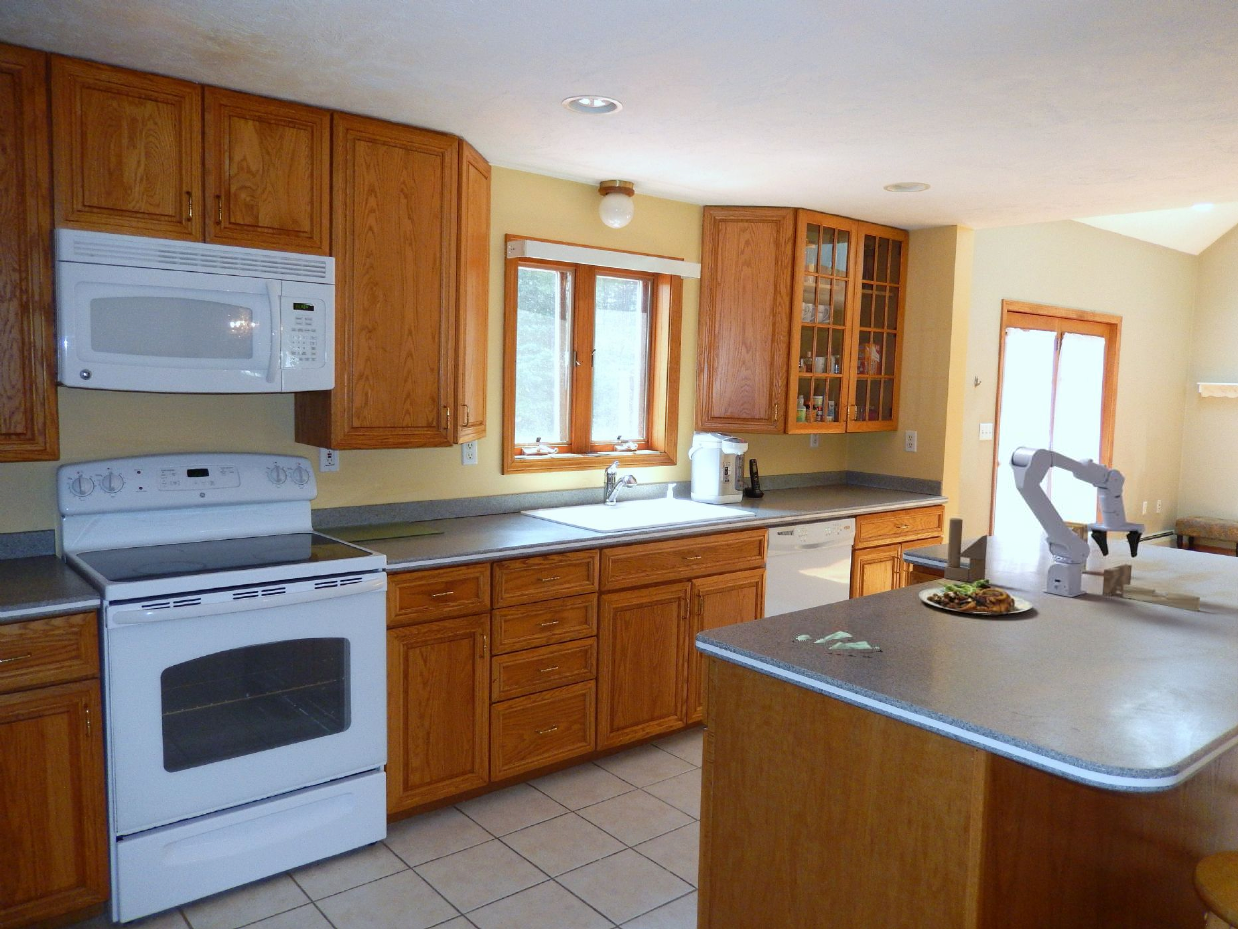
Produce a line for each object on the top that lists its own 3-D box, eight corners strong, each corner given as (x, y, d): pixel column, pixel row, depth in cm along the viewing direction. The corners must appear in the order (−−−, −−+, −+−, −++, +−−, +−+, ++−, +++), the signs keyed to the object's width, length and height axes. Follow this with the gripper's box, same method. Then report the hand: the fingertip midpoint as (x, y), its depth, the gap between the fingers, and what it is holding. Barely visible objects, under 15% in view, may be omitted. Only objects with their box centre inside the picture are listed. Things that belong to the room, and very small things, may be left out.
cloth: (776, 639, 199) (776, 629, 199) (858, 632, 207) (858, 622, 207) (828, 667, 180) (828, 655, 180) (916, 657, 188) (916, 646, 188)
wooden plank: (1108, 595, 246) (1110, 570, 245) (1102, 594, 247) (1104, 569, 246) (1130, 589, 254) (1131, 565, 254) (1124, 588, 256) (1125, 564, 255)
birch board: (1196, 611, 230) (1197, 598, 230) (1122, 597, 244) (1123, 584, 244) (1198, 610, 231) (1199, 597, 231) (1125, 596, 245) (1126, 584, 245)
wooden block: (980, 584, 257) (983, 523, 255) (943, 578, 264) (947, 518, 263) (985, 582, 260) (988, 521, 258) (949, 576, 267) (952, 517, 265)
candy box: (1086, 571, 278) (1089, 523, 276) (1081, 573, 275) (1084, 524, 274) (1056, 567, 284) (1059, 520, 283) (1051, 569, 281) (1054, 521, 280)
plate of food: (957, 589, 251) (958, 568, 251) (1054, 609, 229) (1055, 586, 228) (896, 605, 235) (896, 583, 234) (993, 629, 213) (994, 604, 212)
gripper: (1146, 505, 246) (1153, 552, 248) (1092, 505, 258) (1099, 549, 259) (1135, 513, 242) (1143, 560, 244) (1081, 512, 253) (1088, 557, 255)
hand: (1120, 555), depth 251 cm, fingers open, 7 cm apart
